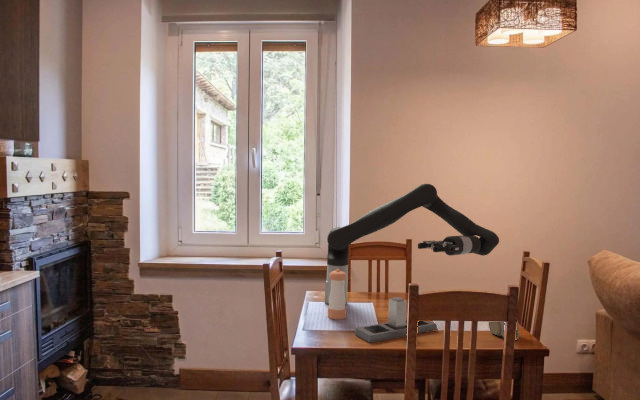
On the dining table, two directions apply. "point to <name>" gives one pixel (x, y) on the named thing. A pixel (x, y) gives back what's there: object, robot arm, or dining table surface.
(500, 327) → the ceramic mug
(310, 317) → the dining table surface
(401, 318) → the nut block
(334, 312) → the pepper mill
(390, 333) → the grey compartment tray
